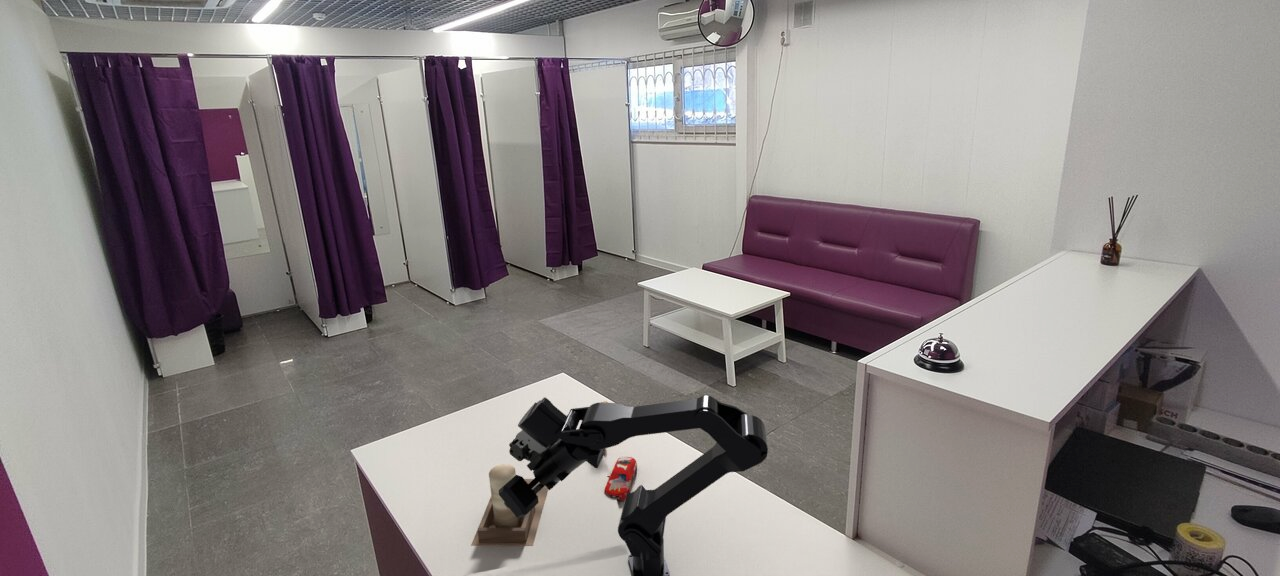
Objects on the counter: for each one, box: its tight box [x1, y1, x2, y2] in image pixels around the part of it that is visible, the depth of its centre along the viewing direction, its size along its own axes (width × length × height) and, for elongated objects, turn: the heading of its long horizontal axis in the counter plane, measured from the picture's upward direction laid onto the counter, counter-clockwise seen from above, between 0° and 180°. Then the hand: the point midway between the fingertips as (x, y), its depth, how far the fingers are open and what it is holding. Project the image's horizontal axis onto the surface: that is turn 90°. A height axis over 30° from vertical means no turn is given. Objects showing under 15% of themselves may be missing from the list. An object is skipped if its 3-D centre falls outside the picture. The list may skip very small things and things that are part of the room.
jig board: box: [470, 478, 549, 547], centre depth 121 cm, size 20×12×4 cm, turn 178°
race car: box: [603, 456, 638, 502], centre depth 130 cm, size 13×5×4 cm, turn 166°
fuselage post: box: [488, 463, 521, 528], centre depth 115 cm, size 5×5×13 cm
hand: (522, 490), depth 111 cm, fingers open, 9 cm apart
